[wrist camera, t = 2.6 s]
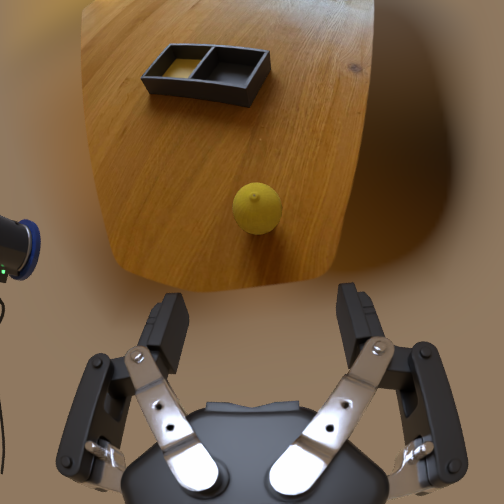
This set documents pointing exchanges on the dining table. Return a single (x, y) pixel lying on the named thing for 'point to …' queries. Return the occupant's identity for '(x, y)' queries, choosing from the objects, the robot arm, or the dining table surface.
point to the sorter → (209, 72)
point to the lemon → (257, 208)
